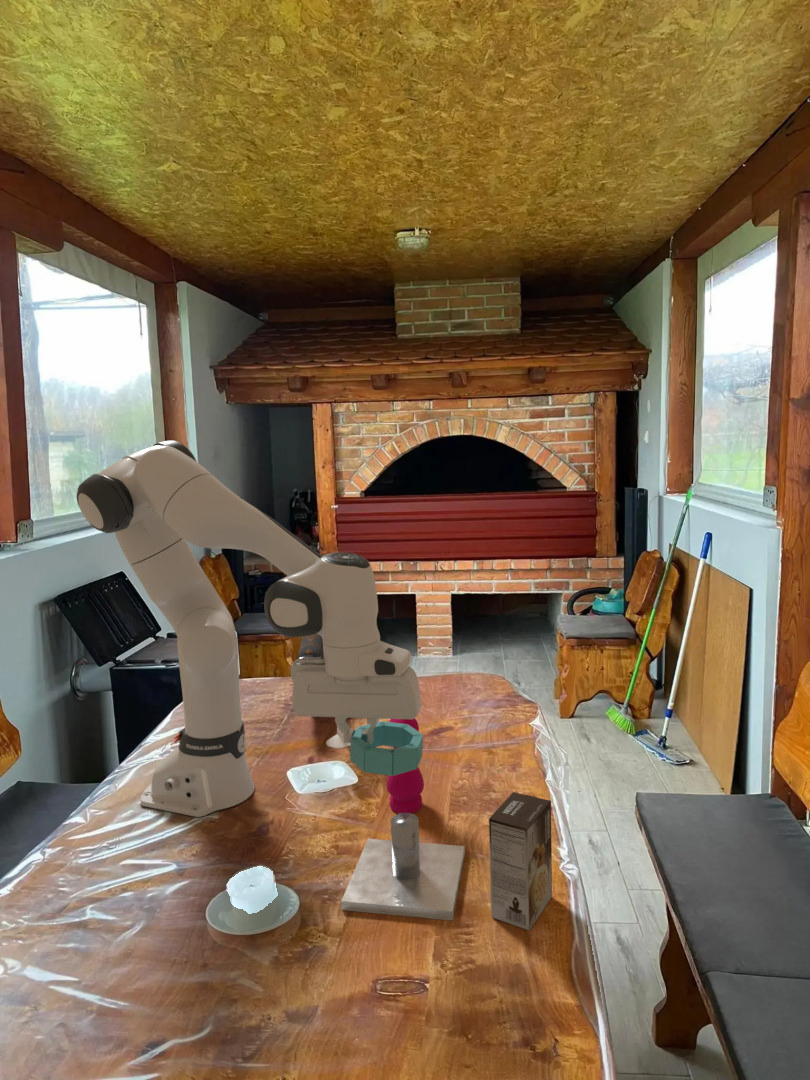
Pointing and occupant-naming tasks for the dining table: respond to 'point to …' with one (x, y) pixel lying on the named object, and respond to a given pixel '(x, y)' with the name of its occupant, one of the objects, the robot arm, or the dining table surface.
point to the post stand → (406, 875)
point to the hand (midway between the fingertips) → (359, 742)
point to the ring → (387, 759)
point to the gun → (311, 646)
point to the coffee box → (520, 859)
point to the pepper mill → (406, 783)
